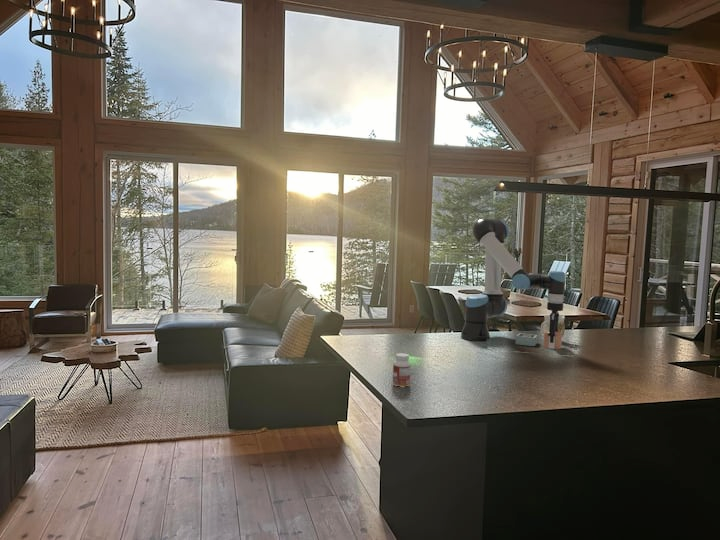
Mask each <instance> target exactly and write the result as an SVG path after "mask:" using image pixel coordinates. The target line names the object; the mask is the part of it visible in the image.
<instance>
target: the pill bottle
mask: <svg viewBox="0 0 720 540" xmlns="http://www.w3.org/2000/svg"><path fill="white" fill-rule="evenodd" d="M395 359H396V360H394V361H393V365H392V367H393V368H392V385H393V386H394V385H395V386H394V387H396V386H408V387H410V386H411V361H410V360H409V359H410V354H408V353H403V352H402V353H401V352H399V353H396V354H395Z"/></svg>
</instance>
